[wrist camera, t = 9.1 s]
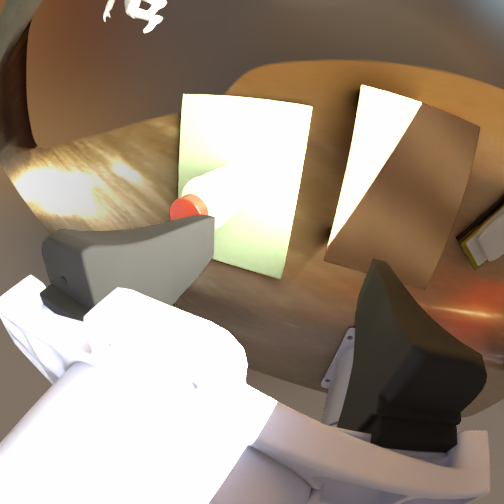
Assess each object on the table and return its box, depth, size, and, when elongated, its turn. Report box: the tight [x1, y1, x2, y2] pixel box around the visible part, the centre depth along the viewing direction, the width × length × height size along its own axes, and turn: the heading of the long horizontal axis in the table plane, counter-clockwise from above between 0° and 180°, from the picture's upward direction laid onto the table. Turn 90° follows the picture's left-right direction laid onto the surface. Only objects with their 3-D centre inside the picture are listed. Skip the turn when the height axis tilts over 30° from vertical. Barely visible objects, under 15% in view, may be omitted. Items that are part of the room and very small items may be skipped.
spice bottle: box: [170, 164, 254, 229], centre depth 19 cm, size 4×4×7 cm
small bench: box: [324, 85, 480, 290], centre depth 16 cm, size 12×8×2 cm, turn 173°
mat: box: [178, 94, 312, 279], centre depth 22 cm, size 14×10×1 cm
